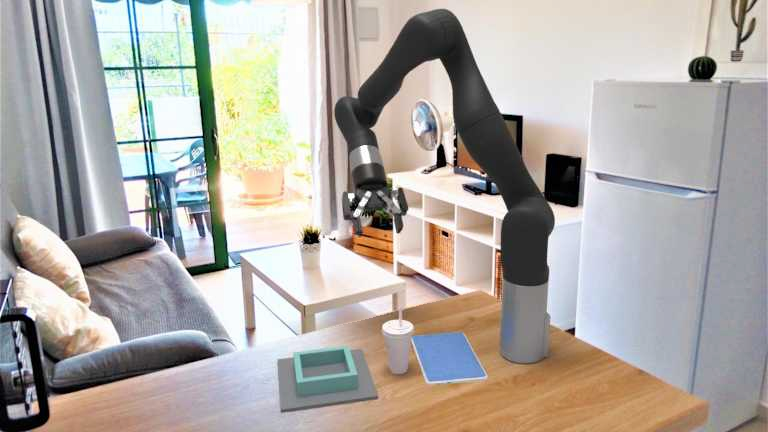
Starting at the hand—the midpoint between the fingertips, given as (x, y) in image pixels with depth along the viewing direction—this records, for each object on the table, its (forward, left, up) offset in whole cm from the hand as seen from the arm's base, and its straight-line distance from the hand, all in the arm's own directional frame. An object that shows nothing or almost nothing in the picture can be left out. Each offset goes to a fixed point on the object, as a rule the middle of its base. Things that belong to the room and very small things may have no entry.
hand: (380, 233), depth 123 cm
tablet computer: (-11, +12, -26) cm, 30 cm away
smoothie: (0, +14, -25) cm, 29 cm away
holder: (+15, +14, -25) cm, 32 cm away
